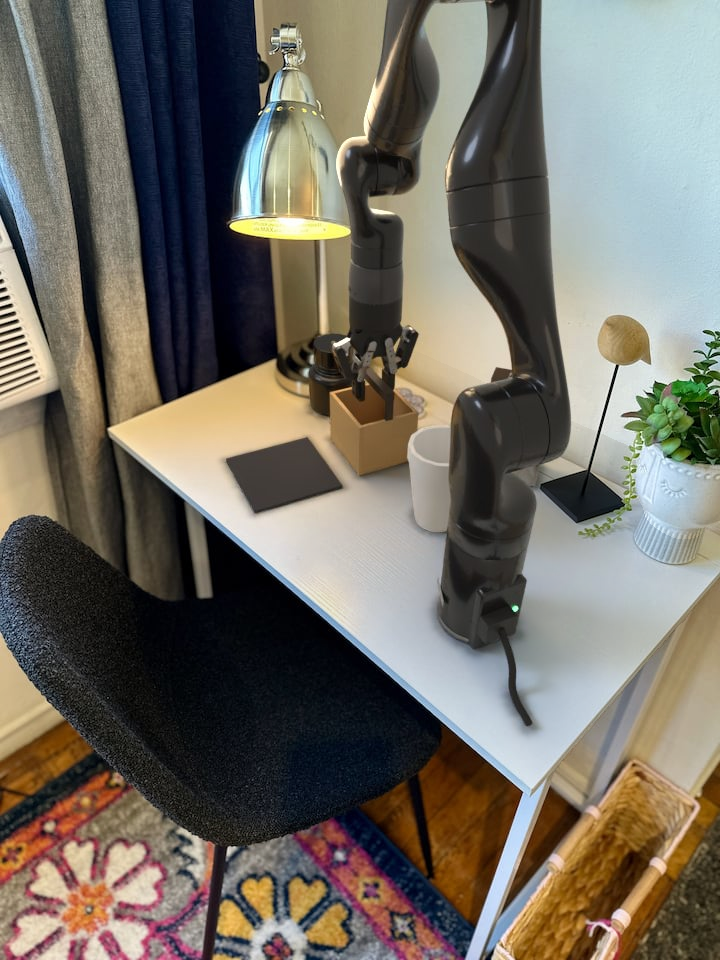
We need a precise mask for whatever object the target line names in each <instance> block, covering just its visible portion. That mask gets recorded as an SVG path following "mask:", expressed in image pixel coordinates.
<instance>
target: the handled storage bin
mask: <svg viewBox="0 0 720 960" xmlns="http://www.w3.org/2000/svg"><path fill="white" fill-rule="evenodd" d="M364 380H365V401H362V402H360V401H359V400H358V399H356V398H355V397H354V395H353V394H352V387H350V388H346V389H342V390H337V391H333V392H330V415H329V421H330V422H329V423H330V424H329V425H330V427H329V428H330V429H329V431H330V440H331V441H332V442H333V443H334V445H335V447H336V448H337V449H338V451H339V452H340V453H341V454H342V455H343V457H344V458H345V460H346V461H347V462H348V463H349V464H350V466H351V467H352V468H353V470H354V471H355V473H356V474H357V475H358V476H359V477H360V476H364V475H367V474H370V473H373V472H377V471H380V470H383V469H387V468H391V467H394V466H397V465H401V464H404V463H407V462H408V463H409V461H408V459H407V453H408V443H409V440H410V437H411V435H412V434H414V433H415V432H416V431H418V427H419V426H418V425H419V411H418V410H417V409H416V408H415V407H414V406H413V405H412V404H411V403H410V402H409V401H408V400H407V399H406V398H405V397H404V396H403V394H401V392H399V391H398V390H397V389H396V387H395V388H394V390H392V389H391V388H390V387H389V386H388V385H387V384H386V383H385V382H384V381H383V380H382V377H381V376H379V374H377V372H376V371H375V370H374V369H373V368H372V367H371V366H370V367H369V368H368V369H367V371H366V375H365V378H364ZM366 382H367V383H366Z"/></svg>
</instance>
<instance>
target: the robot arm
mask: <svg viewBox="0 0 720 960" xmlns="http://www.w3.org/2000/svg"><path fill="white" fill-rule="evenodd" d="M477 2H484V4H485V7H486V9H485V10H486V25H487V29H486V30H487V31H486V32H487V34H486V35H487V36H486V50H485V59H484V64H483V69H482V73H481V76H480V79H479V83H478V86H477V87H476V91H475V93H474V95H473V98H472V100H471V102H470V104H469V107H468V109H467V110H466V114H465V116H464V118H463V120H462V123H461V125H460V127H459V129H458V131H457V133H456V136H455V138H454V141H453V144H452V147H451V149H450V152H449V155H448V157H447V162H446V166H445V173H444V187H445V193H446V195H445V196H446V204H447V213H448V215H447V216H448V224H449V233H450V241H451V245H452V249H453V251H454V254H455V256H456V258H457V260H458V262H459V264H460V265H461V267H462V268H463V269H464V271H465V273H466V274H467V276H468V278H469V279H470V280H471V282H472V283H473V284H474V286H475V287H476V289H477V290H478V292H479V293H480V294H481V295H482V296H483V297H484V299H485V300H486V302H487V303H488V305H489V306H490V307H491V309H492V310H493V311H494V313H495V316H497V317H496V318H497V319H498V320H499V322H500V324H501V326H502V329H503V331H504V334H505V338H506V341H507V347H508V351H509V357H510V366H511V370H512V378H509V379H504V380H500V381H495V382H491V381H490V382H487V383H483V384H479V385H473V386H471V387H467V388H465V389H463V390H462V391H461V392H460V393H459V394H458V395H457V397H456V399H455V401H454V403H453V407H452V411H451V417H450V426H451V429H450V455H449V471H448V480H449V490H450V509H449V517H448V526H447V531H446V536H445V543H444V552H443V561H442V569H441V579H440V578H439V577H437V580H436V581H437V583H436V584H437V589H438V593H439V597H438V602H437V605H436V606H437V607H436V616H437V619H438V622H439V624H440V626H441V628H442V629H443V630H444V631H445V632H446V633H447V634H448V635H449V636H451V637H452V638H455V640H458V641H460V642H462V643H465V644H468V645H469V646H470V648H471V649H472V650H473V651H474V650H478V649H480V648H483V647H485V646H488V645H490V644H493V643H497V642H499V641H501V644H502V646H503V650H504V653H505V657H506V660H507V661H506V662H507V668H508V681H507V683H508V691H509V696H510V700H511V702H512V704H513V707H514V708H515V710H516V712H517V713H518V714H519V716H520V718H521V720H522V722H523V724H524V725H525V727H529V726H531V725H533V720H532V719H531V717H530V715H529V713H528V711H527V710H526V708H525V706H524V704H522V703H523V702H522V701H521V698H520V696H519V693H518V688H517V664H516V663H517V662H516V659H515V658H516V657H515V655H514V650H513V648H512V645H511V642H510V639H509V637H510V636H512V635H515V634H516V632H517V628H518V623H519V618H520V614H521V610H522V606H523V601H524V596H525V592H526V588H527V584H528V580H527V578H526V577H525V575H524V574H523V571H524V567H525V561H526V557H527V552H528V547H529V544H530V539H531V535H532V530H533V524H534V520H535V517H536V512H537V506H538V505H537V503H538V502H537V497H536V493H535V492H534V489H533V488H532V486H529V484H528V483H526V482H525V481H524V480H523V479H522V478H520V477H518V476H517V475H515V474H513V473H511V472H515V471H518V470H522V469H526V468H529V467H533V466H537V465H543V464H546V463H547V464H548V463H550V462H553V461H555V460H557V459H559V458H560V457H562V455H564V453H565V451H566V450H567V448H568V446H569V443H570V440H571V439H570V438H571V432H572V411H571V409H572V408H571V402H570V394H569V387H568V386H569V385H568V379H567V374H566V368H565V361H564V356H563V350H562V349H563V348H562V343H561V336H560V329H559V321H558V314H557V303H556V293H555V279H554V267H553V266H554V265H553V252H552V251H553V250H552V249H553V248H552V220H551V218H552V217H551V199H550V182H549V181H550V180H549V177H548V176H549V169H548V159H547V158H548V157H547V149H546V135H545V121H544V119H545V118H544V104H543V103H544V102H543V82H542V24H543V23H542V19H543V18H542V17H543V0H386V8H385V18H384V19H385V20H384V27H383V37H382V46H381V54H380V60H379V64H378V65H379V66H378V70H377V74H376V78H375V80H374V83H373V86H372V90H371V94H370V97H369V101H368V104H367V108H366V110H365V115H364V120H363V128H364V129H363V130H364V136H354V137H350V138H348V139H346V140H345V141H344V142H343V143H342V144H341V146H340V148H339V150H338V152H337V156H336V162H335V163H336V164H335V165H336V173H337V176H338V180H339V185H340V187H341V191H342V194H343V197H344V202H345V205H346V209H347V215H348V220H349V226H350V266H349V275H348V286H347V287H348V289H347V290H348V322H349V323H348V324H349V329H348V332H347V334H346V335H347V338H345V339H344V340H342V341H340V342H338V343H337V342H336V341H332V342H331V343H330V348H331V351H332V353H333V356H334V358H335V361H336V363H337V366H338V369H339V371H340V373H341V374H342V375H343V376H344V377H345V378H346V380H348V381H351V380H352V394H353V395H354V397H355V398H356V399H358V400H359V401H360V402H362V401H365V384H366V380H365V379H364V378H365V375H366V371H367V369H368V368H369V367H371V363H372V360H375V359H376V358H381V363H382V366H383V368H381V379H382V380H383V381H384V382H385V383H386V384H387V385H388V386H389V387H390V388H391V389H392V390H394V388H395V389H396V373H398V370H400V369H406V368H407V367H408V365H409V363H410V360H411V357H412V354H413V351H414V349H415V347H416V344H417V341H418V338H419V335H420V333H419V332H418V331H417V330H416V329H415V328H414V327H412V326H411V324H407V325H405V326H402V325H401V323H402V319H403V318H402V317H403V300H404V299H403V297H404V277H405V276H404V264H403V259H404V257H403V256H404V239H405V237H404V236H405V225H404V221H403V219H402V217H401V216H400V215H398V214H396V213H394V212H392V211H388V210H383V209H382V210H381V209H376V208H373V207H370V205H369V199H370V198H381V197H382V198H383V197H392V196H393V197H394V196H402V195H406V194H408V193H409V192H411V191H412V190H413V189H415V188H416V187H417V185H418V184H419V182H420V179H421V175H422V151H423V150H422V149H423V139H424V135H425V132H426V130H427V128H428V125H429V123H430V121H431V119H432V116H433V114H434V111H435V109H436V106H437V104H438V100H439V96H440V90H441V73H440V68H439V64H438V61H437V58H436V55H435V53H434V50H433V49H432V46H431V43H430V40H429V38H428V33H427V30H426V27H425V22H426V19H427V17H428V15H429V14H430V11H431V9H432V8H433V7H434V5H435V4H441V5H443V4H445V5H448V4H462V3H463V4H464V3H477ZM398 340H399V341H398ZM397 342H398V345H397V347H396V350H395V346H396V344H397ZM350 346H352V347H353V348H354V353H353V357H352V358H353V364H352V367H350V365H349V362H348V359H347V357H346V356H348V355H349V354H348V353H349V347H350Z"/></svg>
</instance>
